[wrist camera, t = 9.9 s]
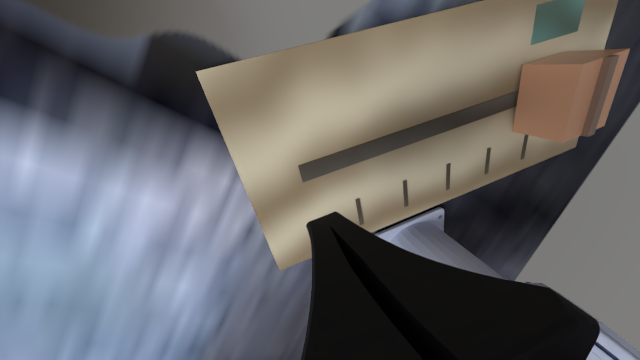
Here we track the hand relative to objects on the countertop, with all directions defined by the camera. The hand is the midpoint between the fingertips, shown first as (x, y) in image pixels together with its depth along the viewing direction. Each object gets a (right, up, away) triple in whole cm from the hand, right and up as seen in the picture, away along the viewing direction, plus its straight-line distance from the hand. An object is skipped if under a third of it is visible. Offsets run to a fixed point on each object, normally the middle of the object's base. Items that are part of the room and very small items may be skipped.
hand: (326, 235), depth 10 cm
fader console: (+8, +8, +10) cm, 15 cm away
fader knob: (+17, +9, +9) cm, 21 cm away
